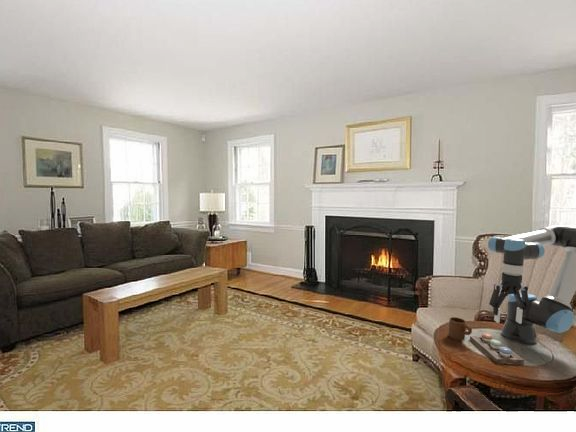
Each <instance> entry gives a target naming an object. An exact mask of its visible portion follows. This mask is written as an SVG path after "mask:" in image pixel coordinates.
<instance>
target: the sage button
mask: <svg viewBox="0 0 576 432" xmlns="http://www.w3.org/2000/svg"><path fill="white" fill-rule="evenodd" d="M498 340H499V339H497V340H493V339H492V340H490V347H491V348H492V349H493V350H499V348H500V346H501V343H502V342H501V341H500V340H499V341H498Z"/></svg>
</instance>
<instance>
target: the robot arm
mask: <svg viewBox="0 0 576 432" xmlns="http://www.w3.org/2000/svg"><path fill="white" fill-rule="evenodd" d="M544 246H545V247H549V246H555V247H561V248H563V249H564V251H565V255H564V258H562V262H561V264H560V266H559V268H558V271H557V273H556V275H555V277H554V280H553V282H552V284H551V286H550V289H549V291H548V294H547V295H545V296H542V297H541V300H537V296H536V295H534V294H530V293H528V290H529V287H528V286H526V285H524V284H522V283H523V273H524V263H525V262H524V261H525V260H536V259H540V258H542V257H543V256H544V255H545V250H546V249H545V247H544ZM487 248H488V249H489V250H490V251H491V252H494V253H498V254H503V257H502V258H503V260H502V268H501V269H502V270H501V271H502V272H501V278H500V279H501V283H500V284H496V283H495V284H493V291H492V294H491V297H490V300H489V302H488V304H489V306H491V307H493V308H492V309H493V311H492V313H493V315H494V318H493V321H494V322H496V323H497V324H500V321H501V320H500V319H501V308H500V307H501V306H502V304H503V302H504V301H505V299H506V297H508V299H507V308H506V309H507V310H506V311H507V312H506V320H505V322H504V324H503V326H502V327H501V333H500V334H501V335H502V336H503V337H504V336H505V339H506V338H507V339H508V340H511V341H514V342H516V343H521V344H530V345H531V344H535V343H537V342H538V338H537V337H538V336H537V333H536V329H535V325H537V326H539V327H541V328H544V329H547V330H548V331H551V332H552V331H553V332H555V333H560V334H561V333H564V332H568V330H569V329H570V328H571V327H572V326H573V324H574V321H575V314H574V312H573V311H572V310H573V307H572V306H571V304H570V303H571V301H572V299H573V296H574V294H575V291H576V225H572V224H570V225H569V224H557V225H550V226H546V227H540V228H538V229H537V230H535V231H531V232H526V233H524V232H523V233H519V234H515V235H511V236H506V237H499V236H492V237H490V238H489V239H488V242H487Z"/></svg>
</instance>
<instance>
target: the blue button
mask: <svg viewBox="0 0 576 432" xmlns="http://www.w3.org/2000/svg"><path fill="white" fill-rule="evenodd" d="M507 347H508V346H507ZM507 347H500V348H499V351H500V355H501V357H503V358H509V357H510V354H511V350H512V349H511V350H510V347H508V348H507Z"/></svg>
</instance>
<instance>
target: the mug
mask: <svg viewBox="0 0 576 432" xmlns="http://www.w3.org/2000/svg"><path fill="white" fill-rule="evenodd" d="M466 329H467V330H466ZM472 332H473V329H472V327H471V326H470V325H468V324H467V322H466V320H465V319H463V318H460V317H455V316H453V317H450V318H449V323H448V334H447V335H448V337H449V338H450V339H452V340H454V341H460V342H461V341H464V340H465V337H466V336H471V334H472Z"/></svg>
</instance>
